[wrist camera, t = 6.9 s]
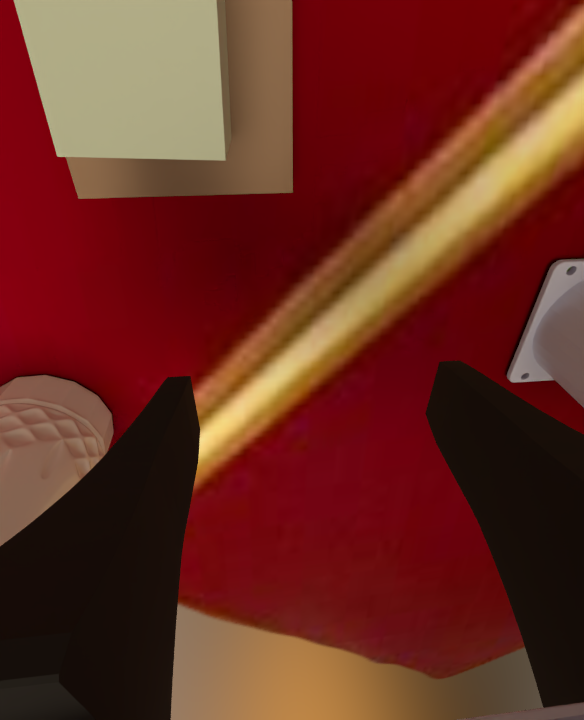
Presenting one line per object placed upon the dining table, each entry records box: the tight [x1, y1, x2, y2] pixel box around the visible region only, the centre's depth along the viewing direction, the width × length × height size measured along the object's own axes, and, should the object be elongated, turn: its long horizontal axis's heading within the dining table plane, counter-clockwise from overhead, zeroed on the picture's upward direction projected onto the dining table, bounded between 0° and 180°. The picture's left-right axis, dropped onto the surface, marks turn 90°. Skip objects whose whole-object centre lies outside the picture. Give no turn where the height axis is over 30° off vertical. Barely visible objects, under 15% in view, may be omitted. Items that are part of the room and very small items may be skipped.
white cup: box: [0, 375, 114, 546], centre depth 19 cm, size 8×8×10 cm
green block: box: [14, 0, 231, 161], centre depth 10 cm, size 4×4×5 cm
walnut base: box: [66, 0, 293, 199], centre depth 14 cm, size 8×8×3 cm
